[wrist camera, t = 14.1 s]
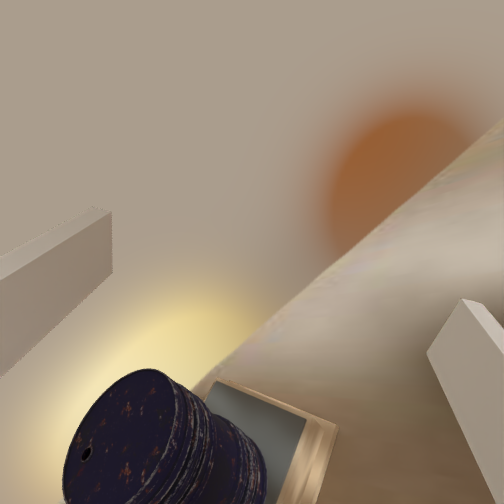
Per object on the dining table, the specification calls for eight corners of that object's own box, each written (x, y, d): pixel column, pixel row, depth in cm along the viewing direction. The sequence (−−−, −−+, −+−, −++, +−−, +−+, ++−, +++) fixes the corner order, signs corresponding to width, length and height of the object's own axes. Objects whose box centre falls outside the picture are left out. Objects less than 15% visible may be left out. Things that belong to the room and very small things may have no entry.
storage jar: (250, 413, 35) (171, 345, 26) (285, 517, 27) (187, 469, 18) (176, 459, 35) (72, 407, 27) (188, 577, 27) (45, 557, 19)
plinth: (233, 384, 45) (214, 366, 42) (339, 428, 35) (324, 409, 32) (167, 512, 37) (137, 502, 34) (280, 618, 27) (252, 618, 24)
